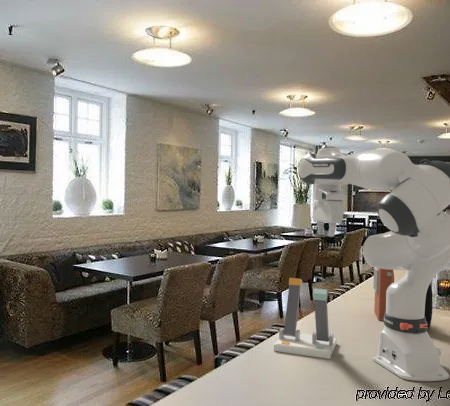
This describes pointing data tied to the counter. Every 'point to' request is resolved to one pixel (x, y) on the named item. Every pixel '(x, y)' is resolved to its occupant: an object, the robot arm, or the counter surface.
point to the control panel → (381, 290)
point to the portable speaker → (428, 306)
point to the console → (305, 344)
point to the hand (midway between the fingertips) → (326, 235)
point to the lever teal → (321, 314)
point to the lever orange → (292, 306)
